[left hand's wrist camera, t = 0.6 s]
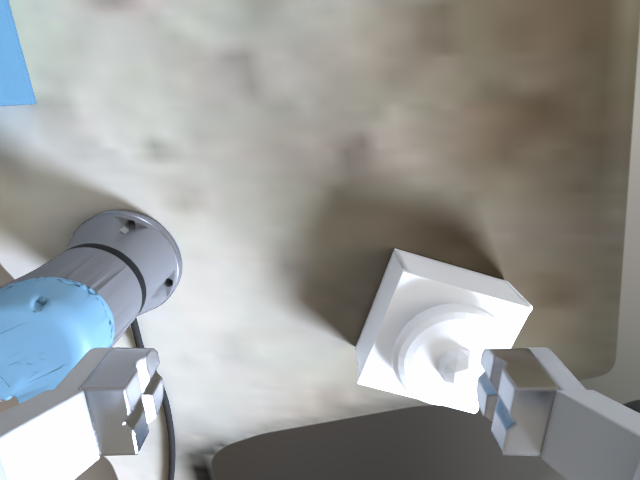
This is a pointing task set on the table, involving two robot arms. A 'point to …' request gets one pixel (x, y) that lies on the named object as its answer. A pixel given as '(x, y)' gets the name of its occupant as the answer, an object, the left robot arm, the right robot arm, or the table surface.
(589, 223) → the table surface
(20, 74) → the light blue box
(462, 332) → the butter dish
